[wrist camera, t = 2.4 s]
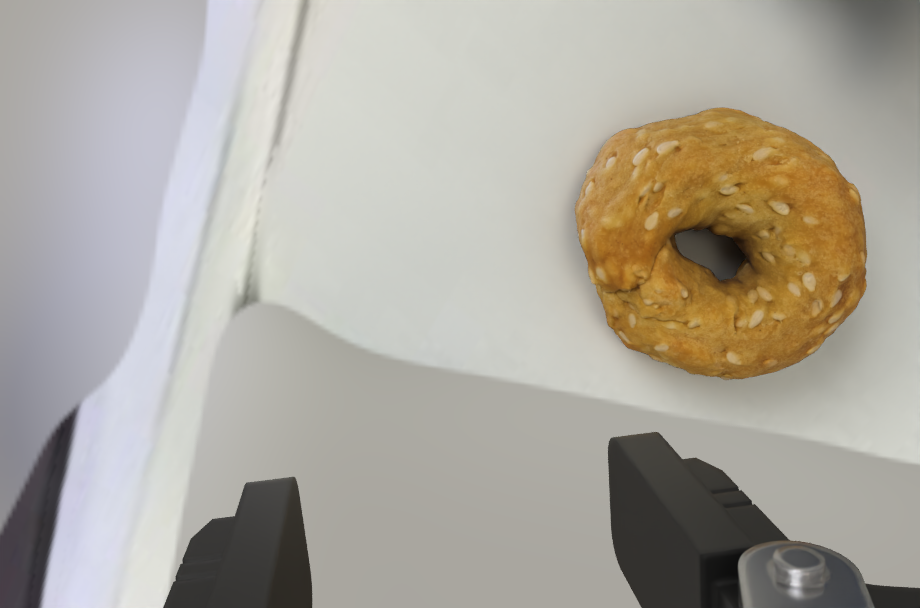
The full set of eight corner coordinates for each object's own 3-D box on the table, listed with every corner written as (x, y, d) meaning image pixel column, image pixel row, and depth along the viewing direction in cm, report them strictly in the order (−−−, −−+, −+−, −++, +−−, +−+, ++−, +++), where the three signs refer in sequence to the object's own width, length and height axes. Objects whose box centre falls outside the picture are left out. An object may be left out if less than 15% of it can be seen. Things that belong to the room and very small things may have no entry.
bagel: (675, 43, 31) (730, 33, 26) (872, 222, 33) (954, 242, 28) (509, 254, 32) (533, 280, 27) (711, 410, 34) (764, 459, 30)
